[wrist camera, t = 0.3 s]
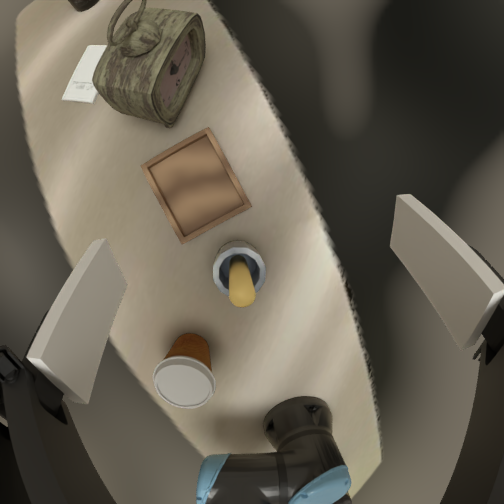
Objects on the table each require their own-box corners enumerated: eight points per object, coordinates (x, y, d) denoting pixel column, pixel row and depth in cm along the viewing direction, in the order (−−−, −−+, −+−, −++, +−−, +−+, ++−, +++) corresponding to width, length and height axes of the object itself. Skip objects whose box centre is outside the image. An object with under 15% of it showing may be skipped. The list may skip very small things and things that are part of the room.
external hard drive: (122, 49, 36) (95, 105, 38) (90, 48, 35) (64, 101, 37) (120, 45, 35) (91, 102, 37) (87, 45, 34) (60, 99, 35)
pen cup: (267, 271, 45) (274, 283, 39) (229, 291, 46) (229, 306, 39) (247, 232, 44) (250, 238, 37) (207, 253, 44) (203, 263, 37)
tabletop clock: (175, 137, 40) (119, 72, 16) (128, 125, 39) (45, 66, 15) (209, 64, 38) (195, -36, 14) (162, 55, 37) (120, -36, 13)
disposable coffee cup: (194, 315, 46) (184, 350, 34) (228, 352, 48) (229, 393, 36) (155, 342, 46) (138, 379, 34) (190, 377, 48) (182, 418, 36)
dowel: (250, 267, 44) (260, 299, 29) (234, 275, 44) (237, 311, 29) (241, 252, 44) (247, 277, 29) (226, 260, 44) (224, 290, 29)
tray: (250, 206, 43) (251, 206, 41) (184, 242, 44) (181, 244, 41) (209, 130, 41) (208, 126, 38) (145, 167, 41) (140, 165, 38)
